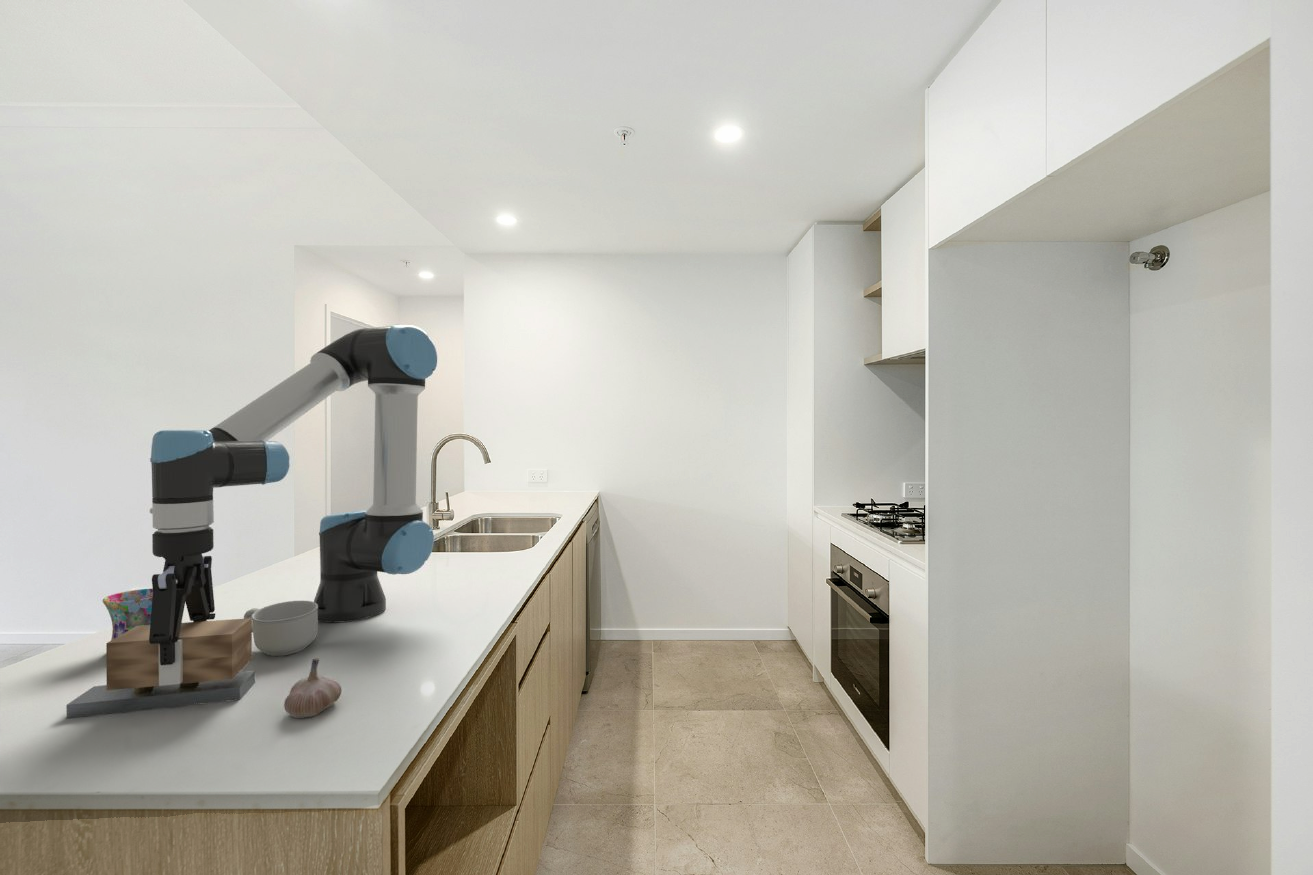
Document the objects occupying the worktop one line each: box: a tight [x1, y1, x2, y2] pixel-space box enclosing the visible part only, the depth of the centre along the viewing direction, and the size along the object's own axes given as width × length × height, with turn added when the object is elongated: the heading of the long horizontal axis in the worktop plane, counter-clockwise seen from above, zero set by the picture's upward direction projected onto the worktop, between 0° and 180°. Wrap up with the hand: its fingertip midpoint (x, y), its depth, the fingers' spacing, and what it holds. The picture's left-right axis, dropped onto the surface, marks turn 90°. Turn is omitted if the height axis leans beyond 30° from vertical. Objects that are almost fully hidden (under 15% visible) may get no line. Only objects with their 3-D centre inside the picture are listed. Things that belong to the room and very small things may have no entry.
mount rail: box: [65, 670, 256, 719], centre depth 93 cm, size 22×6×5 cm, turn 106°
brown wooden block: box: [105, 618, 253, 690], centre depth 94 cm, size 16×8×7 cm, turn 106°
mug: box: [102, 587, 153, 641], centre depth 115 cm, size 12×9×11 cm
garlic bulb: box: [283, 657, 342, 719], centre depth 90 cm, size 8×7×8 cm
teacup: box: [243, 600, 319, 657], centre depth 114 cm, size 14×11×8 cm
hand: (185, 671), depth 94 cm, fingers closed on brown wooden block, 8 cm apart
